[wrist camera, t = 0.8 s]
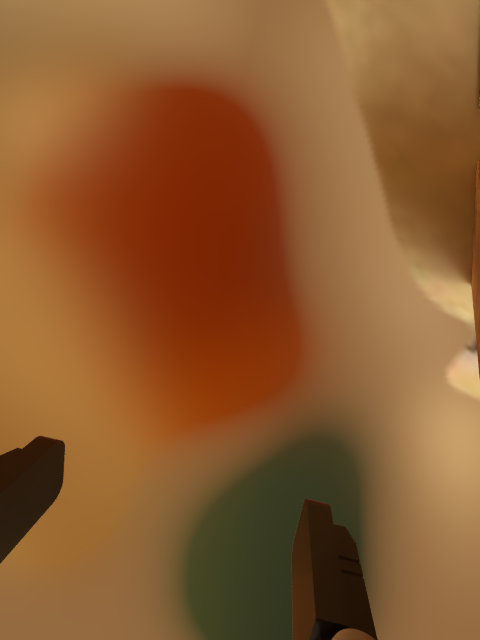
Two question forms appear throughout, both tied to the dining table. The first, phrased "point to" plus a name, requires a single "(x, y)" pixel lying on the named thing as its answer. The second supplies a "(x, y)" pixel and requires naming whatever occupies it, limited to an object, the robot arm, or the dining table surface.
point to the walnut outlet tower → (476, 263)
